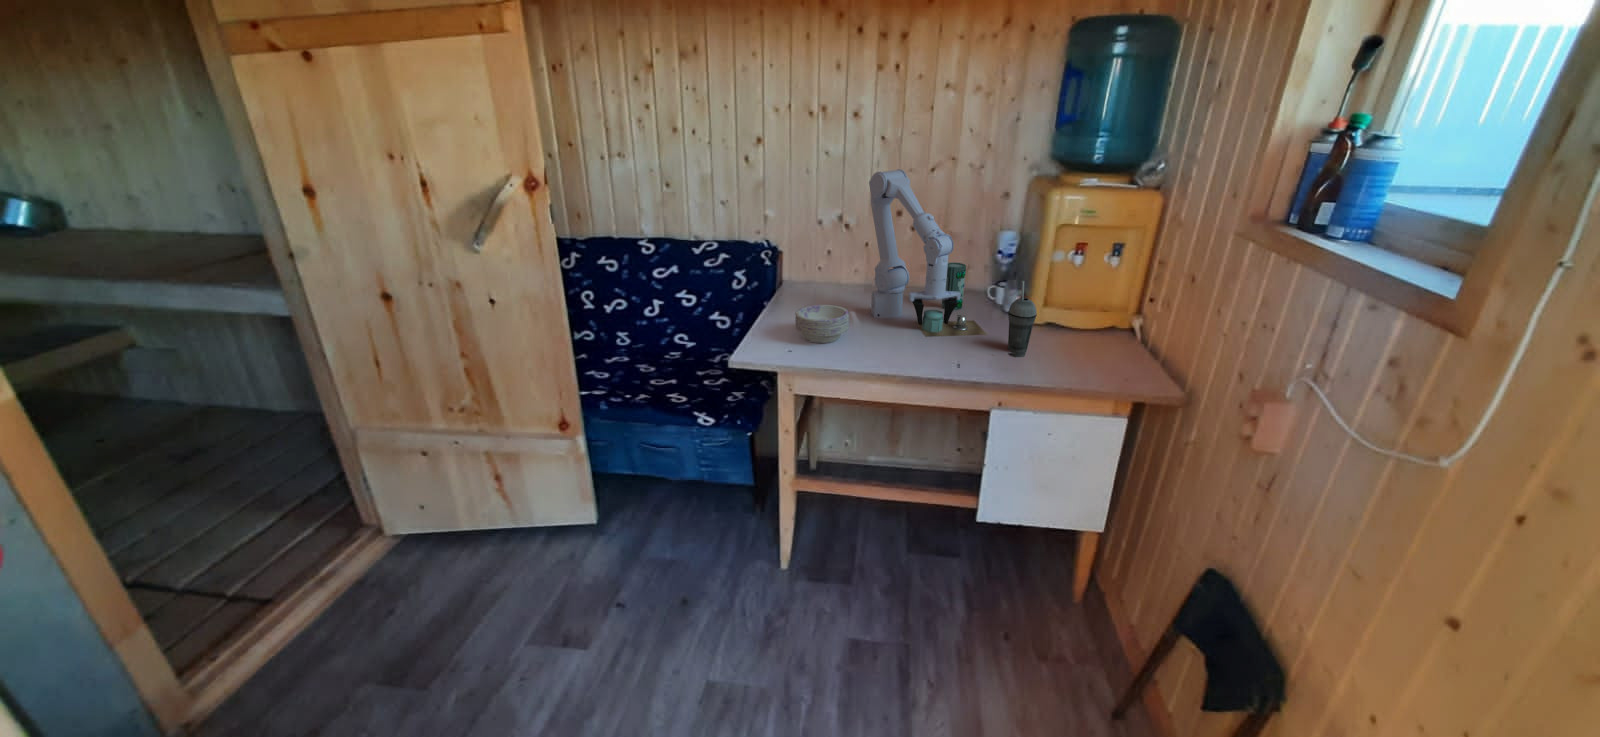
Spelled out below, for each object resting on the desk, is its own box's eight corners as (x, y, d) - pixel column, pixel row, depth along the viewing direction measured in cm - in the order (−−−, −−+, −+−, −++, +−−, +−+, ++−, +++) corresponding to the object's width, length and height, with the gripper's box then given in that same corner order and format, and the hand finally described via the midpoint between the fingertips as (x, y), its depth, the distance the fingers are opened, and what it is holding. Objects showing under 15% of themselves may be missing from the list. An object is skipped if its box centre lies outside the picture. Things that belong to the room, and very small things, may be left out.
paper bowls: (811, 325, 198) (811, 300, 195) (857, 334, 191) (857, 308, 188) (785, 341, 186) (785, 315, 183) (833, 351, 179) (833, 324, 176)
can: (962, 313, 207) (967, 267, 201) (943, 313, 207) (947, 267, 201) (958, 307, 213) (963, 262, 207) (940, 307, 213) (944, 262, 207)
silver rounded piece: (955, 330, 190) (956, 319, 188) (951, 325, 194) (952, 314, 192) (970, 330, 190) (971, 318, 189) (965, 325, 194) (966, 313, 193)
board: (925, 340, 186) (925, 336, 186) (915, 326, 197) (915, 322, 197) (987, 338, 187) (987, 334, 187) (973, 324, 198) (973, 320, 198)
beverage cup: (1016, 361, 172) (1026, 287, 164) (996, 351, 178) (1005, 280, 170) (1036, 356, 175) (1047, 283, 167) (1016, 347, 181) (1026, 276, 173)
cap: (925, 332, 189) (926, 315, 187) (920, 326, 194) (921, 309, 192) (943, 331, 189) (945, 315, 187) (938, 325, 194) (940, 309, 192)
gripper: (914, 282, 181) (911, 329, 186) (965, 281, 182) (961, 327, 187) (908, 276, 187) (905, 320, 193) (958, 274, 188) (953, 319, 194)
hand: (932, 323), depth 191 cm, fingers open, 7 cm apart
